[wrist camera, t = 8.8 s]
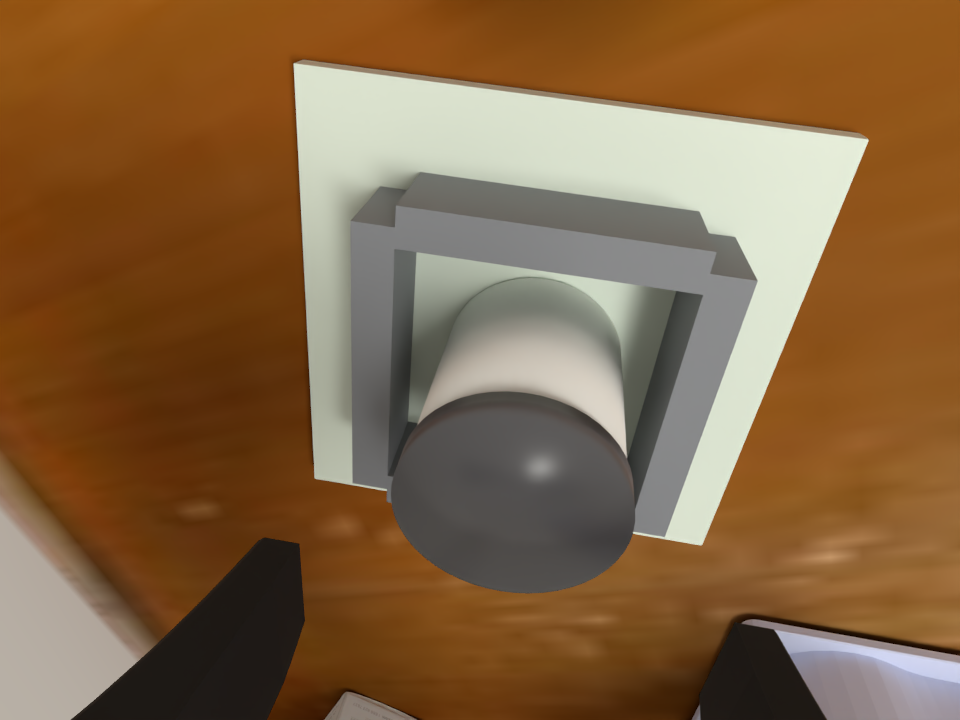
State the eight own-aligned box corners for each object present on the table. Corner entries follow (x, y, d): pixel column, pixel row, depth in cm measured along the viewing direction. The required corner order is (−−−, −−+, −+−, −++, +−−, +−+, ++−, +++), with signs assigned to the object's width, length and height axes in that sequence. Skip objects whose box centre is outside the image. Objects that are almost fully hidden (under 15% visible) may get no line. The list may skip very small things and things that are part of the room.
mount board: (859, 133, 15) (917, 172, 12) (699, 531, 22) (714, 610, 19) (303, 59, 16) (246, 81, 13) (320, 466, 23) (286, 533, 20)
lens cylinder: (650, 300, 17) (671, 454, 12) (595, 442, 20) (594, 615, 15) (461, 254, 17) (406, 388, 12) (433, 402, 20) (379, 561, 15)
